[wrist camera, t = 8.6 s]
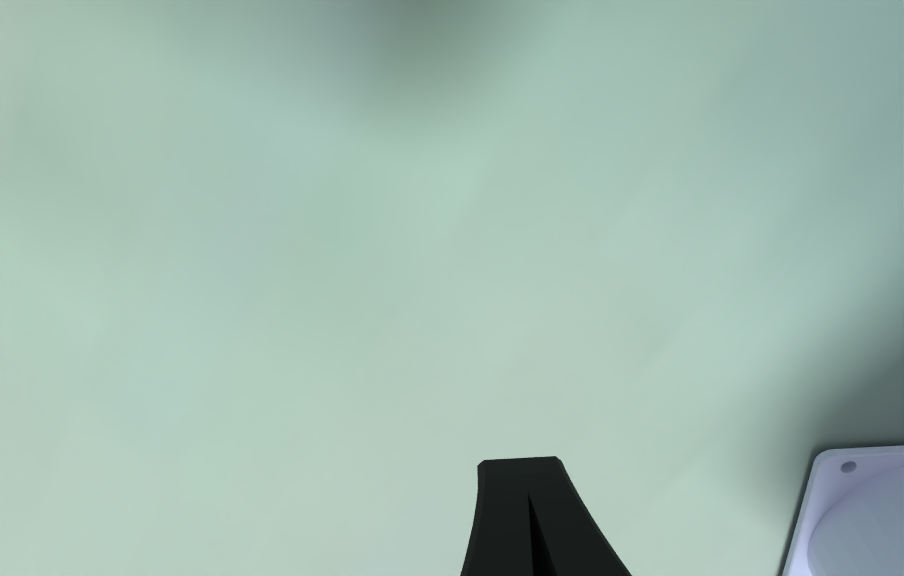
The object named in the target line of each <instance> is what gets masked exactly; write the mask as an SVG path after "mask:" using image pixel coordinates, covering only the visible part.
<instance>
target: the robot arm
mask: <svg viewBox="0 0 904 576" xmlns="http://www.w3.org/2000/svg"><path fill="white" fill-rule="evenodd" d="M846 462H847V463H846ZM844 463H846V464H844ZM477 467H478V494H477V503H476V509H475V515H474V521H473V527H472V531H471V535H470V540H469V544H468V548H467V553H466V557H465V561H464V565H463V568H462V571H461V575H460V576H632V575H631V574H630V572H629V571H628V570H627V568H626V567H625V565H624V564H623V563H622V561H621V560H620V558H619V557H618V555H617V554H616V553H615V551H614V550H613V548H612V547H611V545H610V544H609V542H608V541H607V539H606V538H605V536H604V535H603V533H602V532H601V530H600V529H599V527H598V526H597V524H596V523H595V521H594V519H593V518H592V516H591V515H590V513H589V511H588V510H587V508H586V506H585V505H584V503H583V501H582V500H581V498H580V496H579V494H578V493H577V491H576V489H575V487H574V485H573V483H572V482H571V480H570V478H569V476H568V474H567V472H566V470H565V468H564V465H563V463H562V461H561V460H559V459H558V458H557V457H556V456H551V457H532V458H514V459H495V460H484V461H482V462H481V463H480V464H479V465H477ZM782 576H904V445H902V446H884V447H865V448H846V449H830V450H826V451H823V452H821V453H820V454H819V455H818V456H817V457H816V458H815V460H814V463H813V466H812V470H811V474H810V477H809V481H808V485H807V488H806V492H805V495H804V499H803V503H802V506H801V510H800V513H799V517H798V521H797V524H796V528H795V531H794V535H793V539H792V542H791V546H790V549H789V553H788V557H787V560H786V564H785V568H784V571H783V575H782Z"/></svg>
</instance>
